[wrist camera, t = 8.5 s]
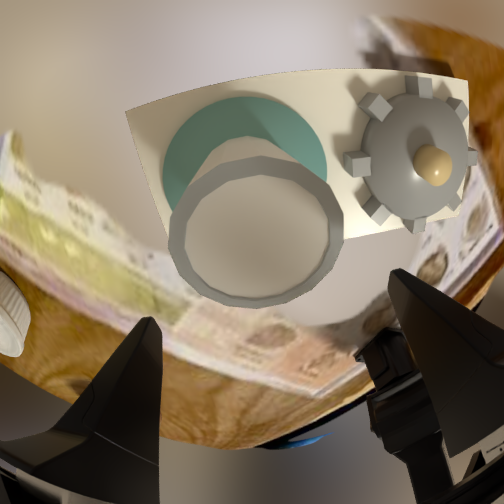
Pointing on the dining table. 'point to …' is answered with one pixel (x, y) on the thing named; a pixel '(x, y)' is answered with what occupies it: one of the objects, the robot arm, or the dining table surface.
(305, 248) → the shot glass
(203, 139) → the gear board
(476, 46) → the dining table surface
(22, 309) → the ramekin
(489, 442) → the robot arm
